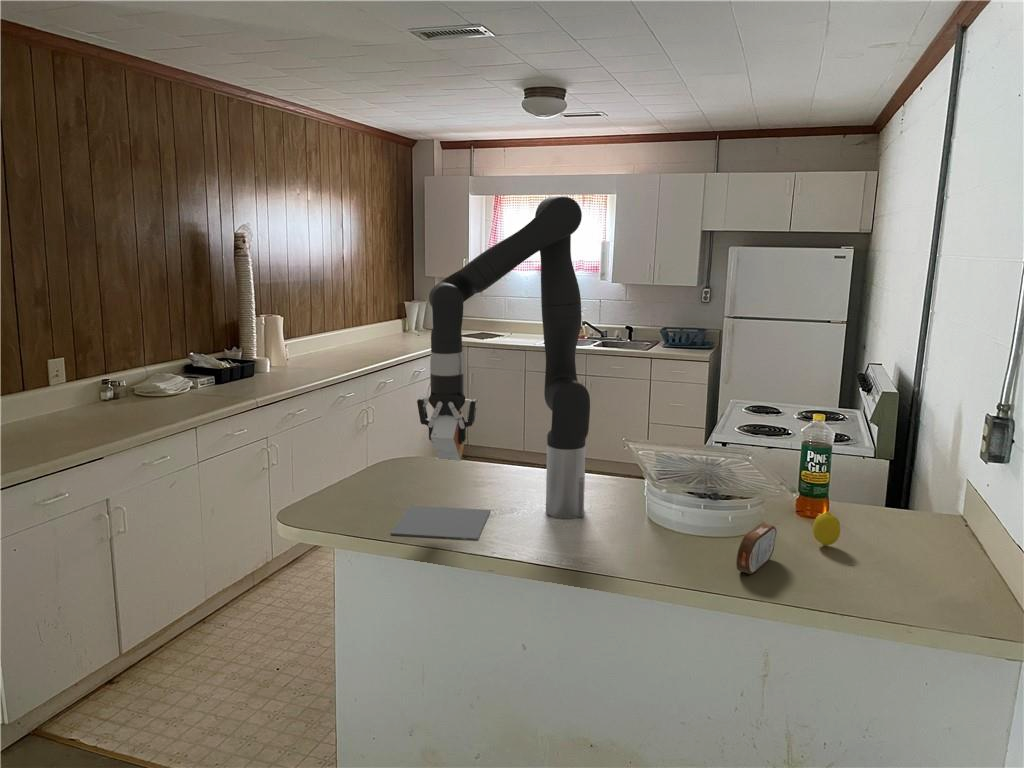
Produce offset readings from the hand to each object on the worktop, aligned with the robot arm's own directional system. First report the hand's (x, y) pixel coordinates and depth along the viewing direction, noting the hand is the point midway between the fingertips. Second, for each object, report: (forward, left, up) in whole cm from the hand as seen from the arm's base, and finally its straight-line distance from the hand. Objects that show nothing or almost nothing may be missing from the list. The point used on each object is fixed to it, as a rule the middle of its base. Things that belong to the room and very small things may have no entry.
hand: (447, 442), depth 176 cm
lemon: (-85, +2, -19) cm, 87 cm away
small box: (0, -5, -3) cm, 6 cm away
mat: (+1, +1, -19) cm, 19 cm away
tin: (-68, +15, -20) cm, 72 cm away
